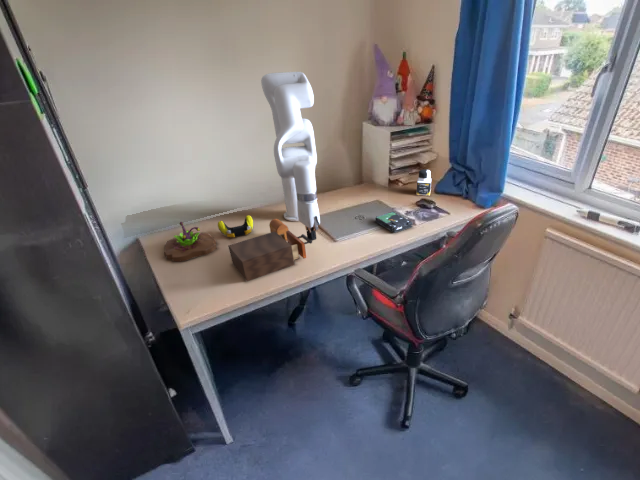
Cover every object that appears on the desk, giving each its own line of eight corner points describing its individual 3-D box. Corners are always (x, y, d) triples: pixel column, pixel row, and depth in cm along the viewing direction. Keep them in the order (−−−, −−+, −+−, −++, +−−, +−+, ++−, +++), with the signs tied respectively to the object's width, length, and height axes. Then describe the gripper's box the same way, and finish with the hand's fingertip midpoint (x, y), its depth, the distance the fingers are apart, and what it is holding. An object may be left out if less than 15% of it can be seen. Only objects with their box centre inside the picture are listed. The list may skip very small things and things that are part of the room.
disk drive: (412, 227, 169) (392, 216, 179) (413, 222, 167) (393, 210, 177) (394, 234, 164) (374, 221, 174) (394, 228, 162) (374, 216, 172)
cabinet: (278, 249, 154) (274, 231, 149) (294, 264, 144) (291, 245, 139) (232, 264, 145) (227, 245, 141) (246, 281, 135) (242, 261, 131)
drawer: (301, 241, 158) (299, 227, 154) (317, 253, 149) (315, 239, 145) (249, 257, 148) (246, 242, 144) (263, 272, 138) (260, 257, 135)
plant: (209, 233, 168) (202, 209, 162) (221, 251, 154) (214, 225, 148) (160, 245, 159) (151, 221, 153) (168, 265, 146) (159, 239, 139)
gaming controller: (219, 231, 169) (222, 241, 162) (216, 220, 166) (219, 229, 159) (253, 224, 174) (257, 233, 167) (250, 213, 171) (255, 221, 164)
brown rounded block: (282, 233, 167) (279, 217, 163) (290, 239, 161) (287, 223, 157) (271, 236, 165) (268, 220, 160) (279, 243, 159) (276, 226, 155)
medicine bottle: (416, 195, 200) (417, 172, 193) (417, 190, 206) (418, 168, 199) (429, 195, 199) (431, 172, 192) (430, 190, 205) (432, 168, 198)
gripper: (288, 192, 145) (295, 235, 156) (307, 204, 135) (312, 249, 146) (306, 188, 149) (311, 230, 159) (325, 199, 139) (329, 243, 149)
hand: (312, 239), depth 152 cm, fingers closed
